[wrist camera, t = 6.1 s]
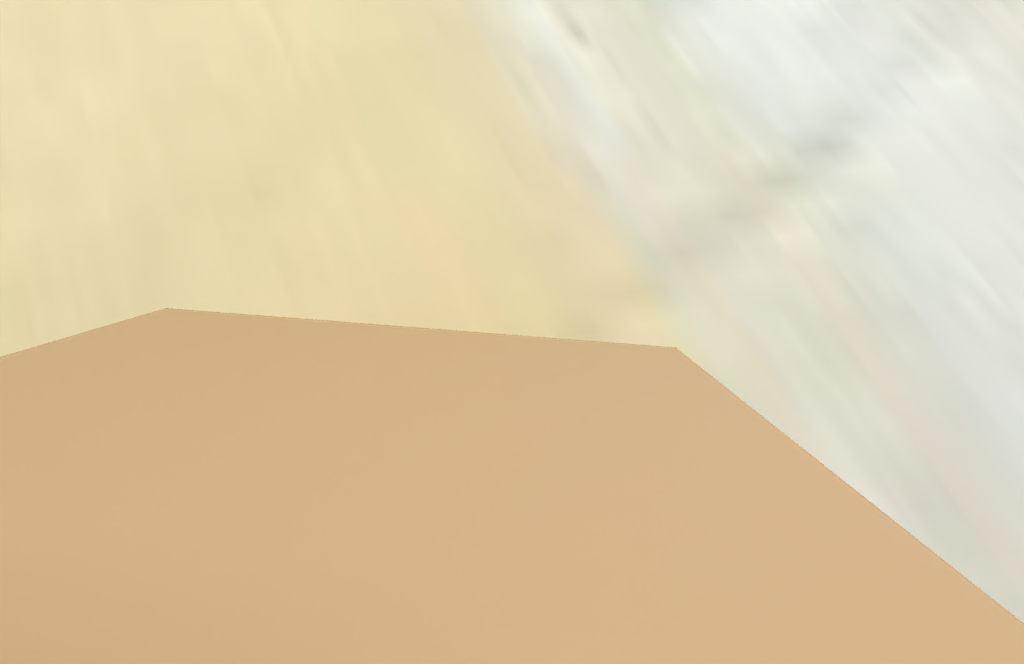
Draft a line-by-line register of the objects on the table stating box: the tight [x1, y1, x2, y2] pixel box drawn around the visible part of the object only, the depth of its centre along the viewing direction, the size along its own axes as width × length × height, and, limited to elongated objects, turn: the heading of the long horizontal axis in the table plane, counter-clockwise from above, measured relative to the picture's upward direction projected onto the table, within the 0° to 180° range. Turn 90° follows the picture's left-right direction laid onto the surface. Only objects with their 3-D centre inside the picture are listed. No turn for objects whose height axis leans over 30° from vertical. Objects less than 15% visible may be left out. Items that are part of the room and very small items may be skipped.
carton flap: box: [0, 308, 1024, 664], centre depth 8 cm, size 14×12×1 cm
